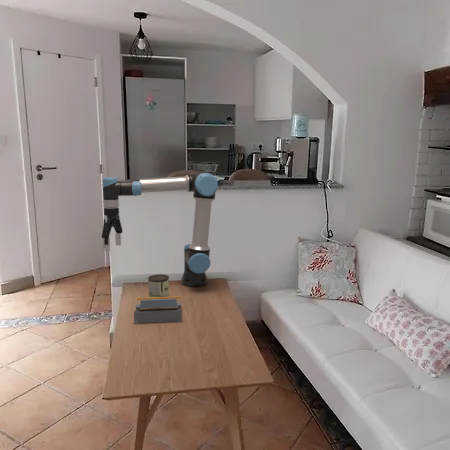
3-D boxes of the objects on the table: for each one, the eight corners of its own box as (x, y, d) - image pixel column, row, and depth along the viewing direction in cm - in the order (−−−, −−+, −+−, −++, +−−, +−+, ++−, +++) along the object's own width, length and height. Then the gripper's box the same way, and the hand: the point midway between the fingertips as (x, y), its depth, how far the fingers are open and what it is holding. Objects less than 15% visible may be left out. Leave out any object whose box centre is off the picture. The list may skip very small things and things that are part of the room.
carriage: (181, 304, 210) (181, 295, 210) (181, 307, 208) (181, 297, 207) (135, 306, 207) (135, 297, 207) (135, 308, 205) (135, 299, 204)
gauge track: (180, 307, 211) (180, 297, 211) (181, 321, 193) (181, 311, 192) (136, 309, 209) (136, 299, 208) (134, 323, 190) (133, 313, 190)
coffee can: (151, 300, 221) (151, 273, 219) (171, 301, 220) (171, 274, 218) (146, 307, 211) (145, 279, 209) (166, 308, 210) (166, 280, 208)
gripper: (114, 204, 234) (116, 242, 237) (93, 210, 210) (95, 253, 213) (127, 204, 233) (129, 243, 236) (107, 210, 208) (109, 253, 212)
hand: (113, 248), depth 225 cm, fingers open, 13 cm apart
